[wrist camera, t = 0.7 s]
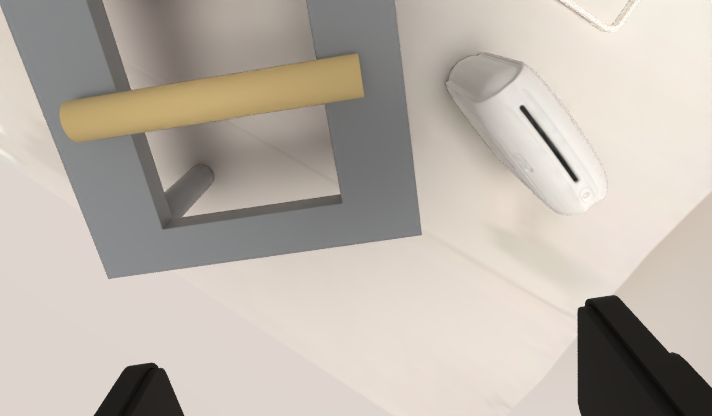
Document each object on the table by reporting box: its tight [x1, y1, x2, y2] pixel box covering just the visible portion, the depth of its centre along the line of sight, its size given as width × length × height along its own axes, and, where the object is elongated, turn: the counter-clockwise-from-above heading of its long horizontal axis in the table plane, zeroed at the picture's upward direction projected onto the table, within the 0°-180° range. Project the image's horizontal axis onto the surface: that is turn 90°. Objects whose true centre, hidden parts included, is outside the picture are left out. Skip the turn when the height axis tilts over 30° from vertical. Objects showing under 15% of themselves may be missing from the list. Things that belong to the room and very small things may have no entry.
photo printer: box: [445, 52, 608, 215], centre depth 32 cm, size 10×4×12 cm, turn 41°
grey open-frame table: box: [0, 0, 422, 279], centre depth 29 cm, size 18×18×16 cm
